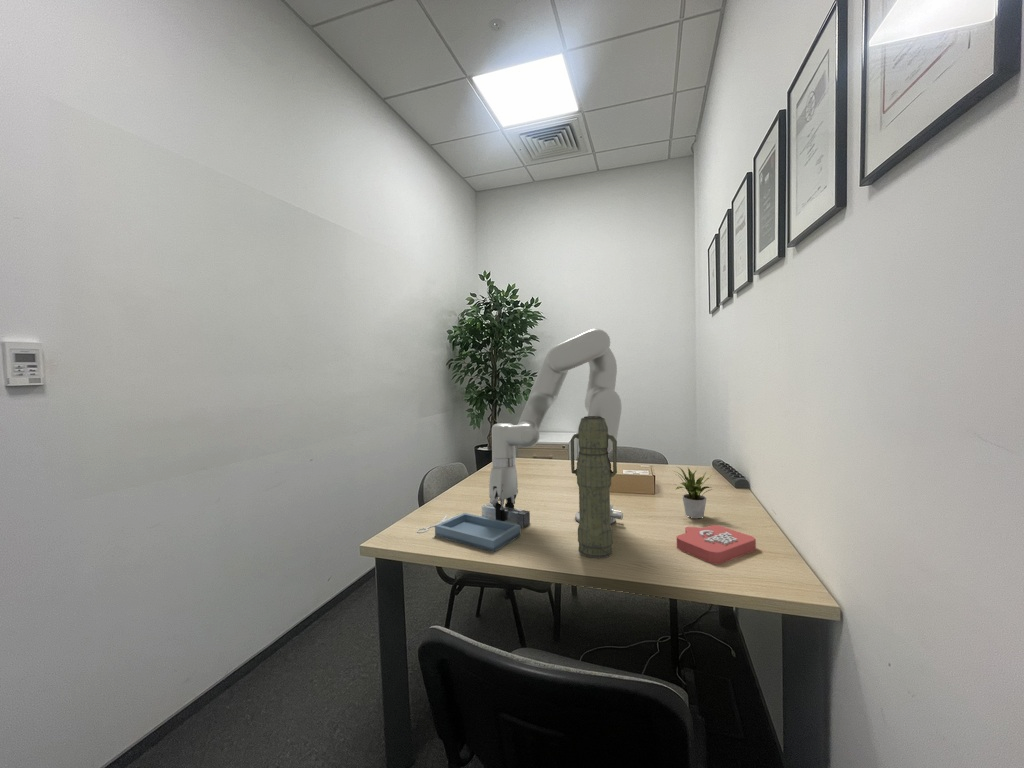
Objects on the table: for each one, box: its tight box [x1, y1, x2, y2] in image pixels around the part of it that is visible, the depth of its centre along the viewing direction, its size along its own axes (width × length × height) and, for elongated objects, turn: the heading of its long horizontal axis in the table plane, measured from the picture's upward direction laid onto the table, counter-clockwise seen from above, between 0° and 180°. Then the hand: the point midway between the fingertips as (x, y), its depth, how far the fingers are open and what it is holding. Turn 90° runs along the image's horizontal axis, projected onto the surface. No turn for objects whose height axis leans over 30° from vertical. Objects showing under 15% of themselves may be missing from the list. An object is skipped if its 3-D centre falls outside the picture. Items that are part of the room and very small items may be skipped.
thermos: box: [570, 415, 618, 559], centre depth 102 cm, size 9×12×35 cm
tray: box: [434, 512, 522, 553], centre depth 114 cm, size 21×13×3 cm, turn 56°
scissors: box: [416, 513, 460, 534], centre depth 124 cm, size 11×1×20 cm
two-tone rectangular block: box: [481, 502, 531, 528], centre depth 125 cm, size 16×4×4 cm, turn 56°
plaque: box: [676, 524, 757, 565], centre depth 104 cm, size 18×4×15 cm
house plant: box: [673, 465, 717, 519], centre depth 127 cm, size 14×14×16 cm
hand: (505, 518), depth 126 cm, fingers open, 4 cm apart
